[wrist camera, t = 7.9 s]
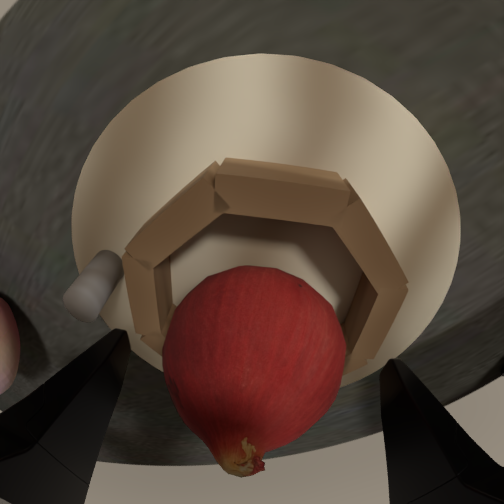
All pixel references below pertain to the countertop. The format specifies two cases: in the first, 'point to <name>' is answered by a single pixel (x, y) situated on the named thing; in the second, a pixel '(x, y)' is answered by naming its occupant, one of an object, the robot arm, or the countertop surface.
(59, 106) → the countertop surface
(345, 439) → the countertop surface
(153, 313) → the flange plate
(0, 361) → the decorative fruit
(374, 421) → the countertop surface
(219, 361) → the onion
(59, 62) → the countertop surface
